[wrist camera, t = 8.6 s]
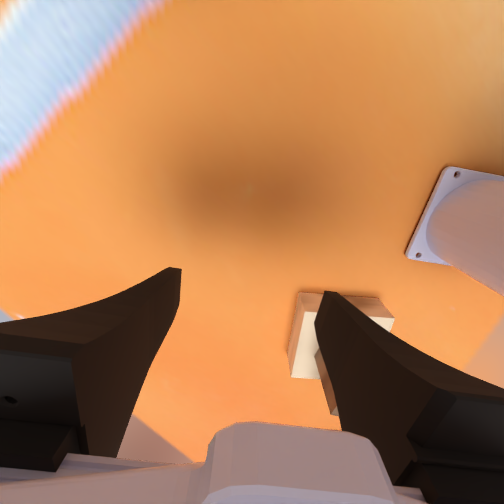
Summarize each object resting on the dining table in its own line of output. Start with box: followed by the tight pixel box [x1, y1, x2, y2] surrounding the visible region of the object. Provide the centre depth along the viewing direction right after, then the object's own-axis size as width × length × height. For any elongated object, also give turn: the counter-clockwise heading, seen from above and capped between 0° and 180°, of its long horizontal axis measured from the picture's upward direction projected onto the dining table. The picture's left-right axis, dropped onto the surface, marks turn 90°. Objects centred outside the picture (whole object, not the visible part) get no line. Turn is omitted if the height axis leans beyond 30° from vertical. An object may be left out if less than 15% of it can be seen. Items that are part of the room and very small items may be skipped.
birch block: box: [287, 292, 395, 379], centre depth 25 cm, size 8×8×4 cm
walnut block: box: [314, 348, 339, 416], centre depth 20 cm, size 4×4×6 cm
